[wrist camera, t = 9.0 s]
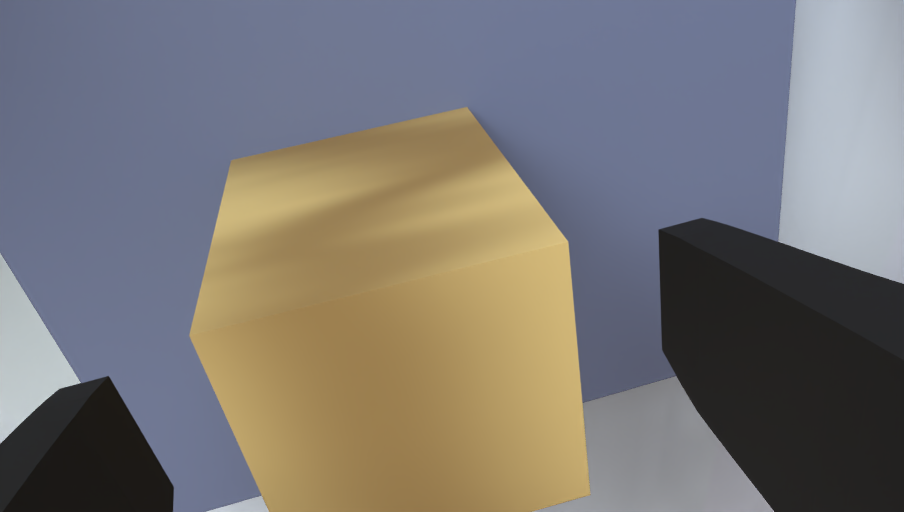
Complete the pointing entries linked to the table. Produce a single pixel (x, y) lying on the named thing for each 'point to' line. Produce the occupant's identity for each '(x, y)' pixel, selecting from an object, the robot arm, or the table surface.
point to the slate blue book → (351, 110)
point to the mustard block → (394, 326)
